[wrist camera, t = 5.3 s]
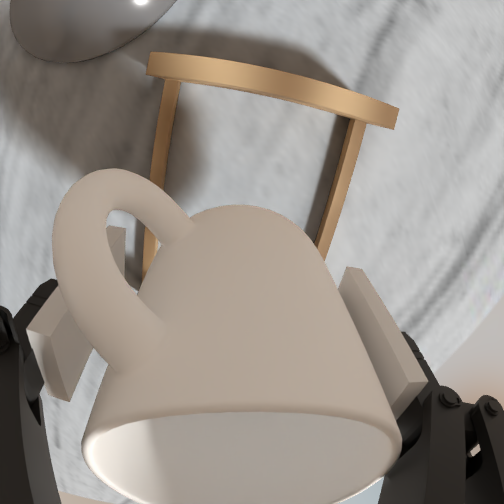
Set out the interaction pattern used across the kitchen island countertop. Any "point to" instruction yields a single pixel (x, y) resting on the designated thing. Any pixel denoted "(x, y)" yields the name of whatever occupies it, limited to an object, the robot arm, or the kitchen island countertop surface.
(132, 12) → the coaster
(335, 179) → the caddy
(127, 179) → the mug
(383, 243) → the kitchen island countertop surface
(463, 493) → the robot arm
